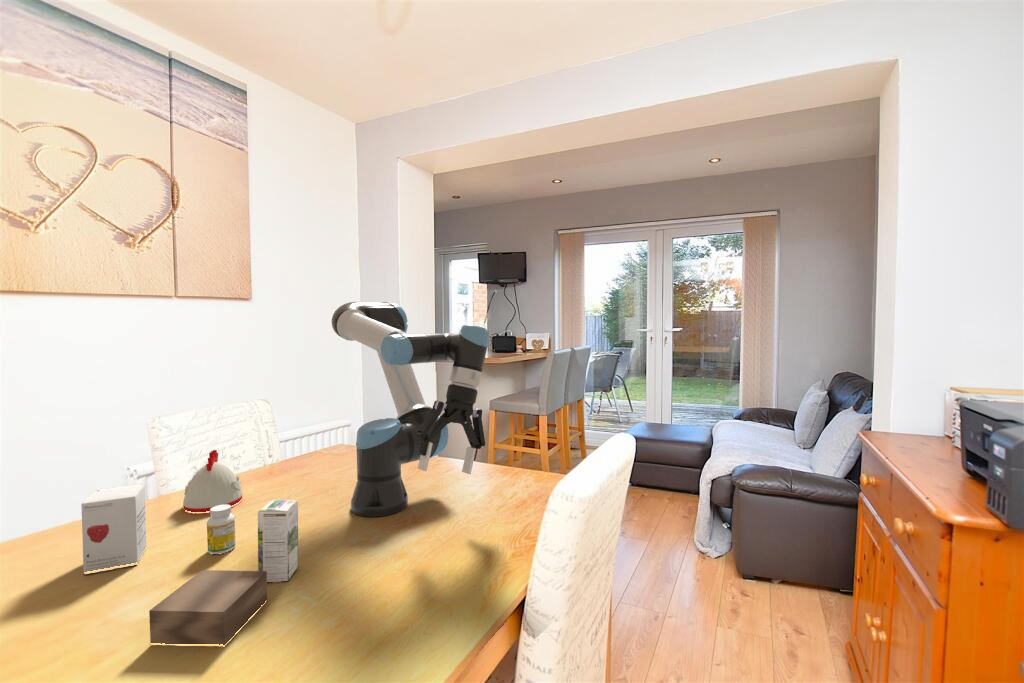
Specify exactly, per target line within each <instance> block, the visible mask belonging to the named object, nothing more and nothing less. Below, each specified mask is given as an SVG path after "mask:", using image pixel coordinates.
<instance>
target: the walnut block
mask: <svg viewBox="0 0 1024 683" xmlns="http://www.w3.org/2000/svg"><path fill="white" fill-rule="evenodd" d="M266 600H267V601H268V583H267V572H266V571H258V570H223V569H221V570H219V569H216V570H213V569H212V570H211V569H209V570H208V569H207V570H205V569H202V570H200V571H199V572H198V573H196V574H195V575H193V577H191V578H190V579H189V580H187V581H186V582H184V583H183V584H182V585H181V586H179V587H178V588H176V590H174V591H173V592H172V593H170V594H169V595H168V596H166V597H165V598H164V599H162V600H161V601H159V602H158V603H157V604H156V605H155V606H154V607H152V608H151V609H150V610H149V611H148V613H149V616H148V617H149V637H150V639H149V640H150V642H149V643H161V644H162V643H165V644H219V645H220V644H223V645H225V644H226V643H227V642H228V641H229V640H230V639H231V638H232V637H233V636H234V635H235V633H236V632H237V631H238V630H239V629H240V628H241V627H242V626H243V625H244V624H245V623H246V622H247V621H248V619H249V618H250V617H251V616H252V615H253V614H254V613H255V612H256V611H257V610H258V609H259V608H260V607H261V605H263V604H264V603H265V601H266Z"/></svg>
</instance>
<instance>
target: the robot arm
mask: <svg viewBox="0 0 1024 683" xmlns="http://www.w3.org/2000/svg"><path fill="white" fill-rule="evenodd" d="M408 322H409V321H408V317H407V314H406V312H405V310H404V309H403V307H402V306H401V305H399V304H397V303H394V302H386V301H384V302H369V301H368V302H367V301H351V302H347V303H343V304H341V305H340V306H339V307H338V308H336V310H335V311H334V312H333V314H332V318H331V327H332V329H333V331H334V333H336V335H337V336H339V337H340V338H342V339H344V340H346V341H351V342H354V341H356V342H357V343H360V344H362V345H365V346H366V347H368V348H371V349H373V350H374V351H376V352H377V356H378V358H379V361H380V365H381V368H382V371H383V373H384V377H385V379H386V383H387V385H388V389H389V392H390V394H391V397H392V401H393V404H394V406H395V410H396V412H397V417H396V418H393V417H391V418H390V417H388V418H387V417H386V418H380V419H379V418H378V419H375V420H370V421H368V422H366V423H363V425H361V426H360V427H359V428H358V430H357V432H356V441H355V446H356V476H357V477H356V480H357V481H356V484H355V487H354V490H353V495H352V497H351V501H350V511H351V512H352V514H354V515H356V516H359V517H364V518H365V517H368V518H374V517H375V518H377V517H385V516H389V515H393V514H396V513H399V512H401V511H403V510H404V509H405V508H407V506H408V504H409V499H408V498H409V497H408V496H409V495H408V492H407V490H406V487H405V483H404V481H403V479H402V478H403V477H402V465H403V464H408V463H411V462H417V461H418V464H417V469H418V470H421V471H423V472H427V471H428V466H429V463H430V462H429V461H430V459H432V458H433V457H438V456H439V455H441V454H442V453H443V452H444V451H445V450H446V448H447V445H448V443H449V442H448V441H449V436H450V435H449V427H448V424H451V423H453V424H459V425H461V426H462V427H463V431H464V433H465V436H466V437H467V441H468V443H469V446H467V448H466V452H465V456H464V460H463V464H462V470H461V472H462V473H464V474H467V475H471V474H472V469H473V466H474V465H473V464H474V461H476V458H477V455H478V451H479V450H480V449H482V447H485V446H486V439H485V432H484V426H483V420H482V419H483V418H482V417H483V409H481V408H474V405H475V404H476V402H477V397H478V392H479V391H478V390H477V388H479V387H480V382H481V377H482V373H483V368H484V364H485V360H486V356H487V351H488V350H487V349H488V347H489V339H490V332H489V330H488V329H487V328H485V327H482V326H480V325H475V324H463V325H462V326H461V327H460V328H461V329H460V331H459V333H451V332H437V333H417V334H416V333H407V332H408V325H409V324H407V323H408ZM440 362H453V364H452V367H451V373H450V377H449V382H450V384H449V385H448V386H447V391H446V395H445V398H446V401H445V402H443V401H440V400H434V401H433V404H432V406H429V405H426V402H425V400H424V397H423V394H422V391H421V388H420V386H419V383H418V381H417V378H416V374H415V371H414V369H413V367H412V364H413V365H415V364H416V365H417V364H429V363H440ZM443 411H444V412H443ZM442 412H443V413H442ZM471 417H472V418H471Z"/></svg>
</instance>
